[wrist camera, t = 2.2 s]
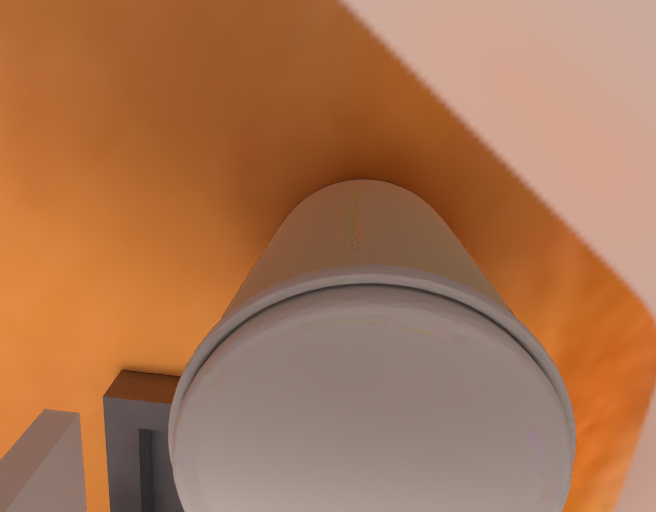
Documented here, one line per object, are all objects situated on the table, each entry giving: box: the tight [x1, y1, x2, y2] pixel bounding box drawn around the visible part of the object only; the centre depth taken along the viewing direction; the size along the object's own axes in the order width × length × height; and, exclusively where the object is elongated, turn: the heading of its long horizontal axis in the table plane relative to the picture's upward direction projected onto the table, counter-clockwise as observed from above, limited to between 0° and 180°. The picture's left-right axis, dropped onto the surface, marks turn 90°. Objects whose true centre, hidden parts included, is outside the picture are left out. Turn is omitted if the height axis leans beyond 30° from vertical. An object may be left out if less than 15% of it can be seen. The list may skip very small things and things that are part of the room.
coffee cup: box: [168, 179, 576, 512], centre depth 18 cm, size 9×9×12 cm
